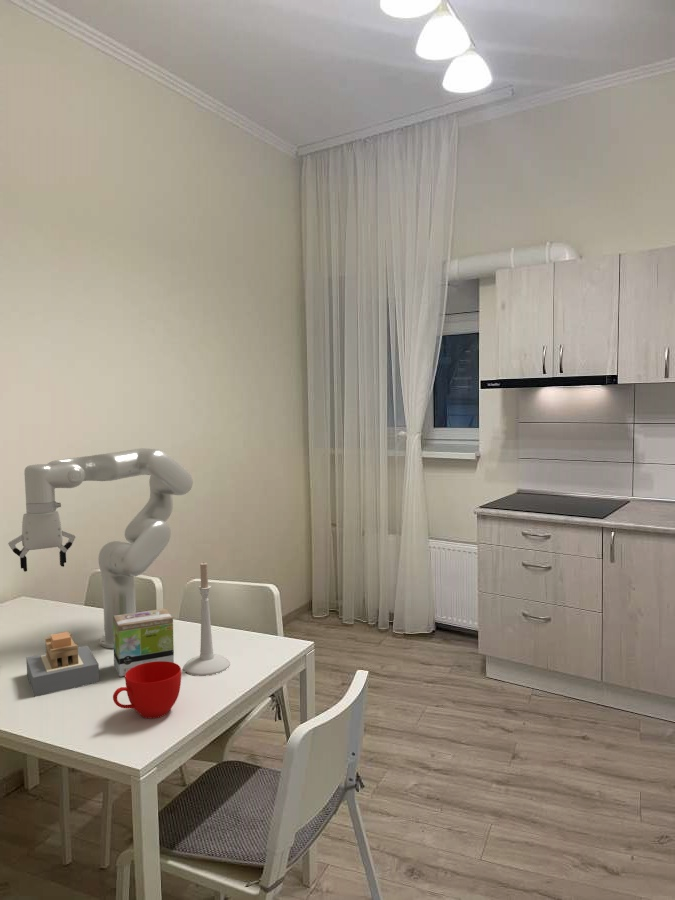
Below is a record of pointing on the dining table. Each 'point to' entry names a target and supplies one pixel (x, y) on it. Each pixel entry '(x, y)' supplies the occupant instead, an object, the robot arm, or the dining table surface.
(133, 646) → the tea box
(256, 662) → the dining table surface
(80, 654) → the dock
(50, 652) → the pallet
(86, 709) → the dining table surface
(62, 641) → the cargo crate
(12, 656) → the dining table surface
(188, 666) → the candlestick
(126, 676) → the ceramic cup
